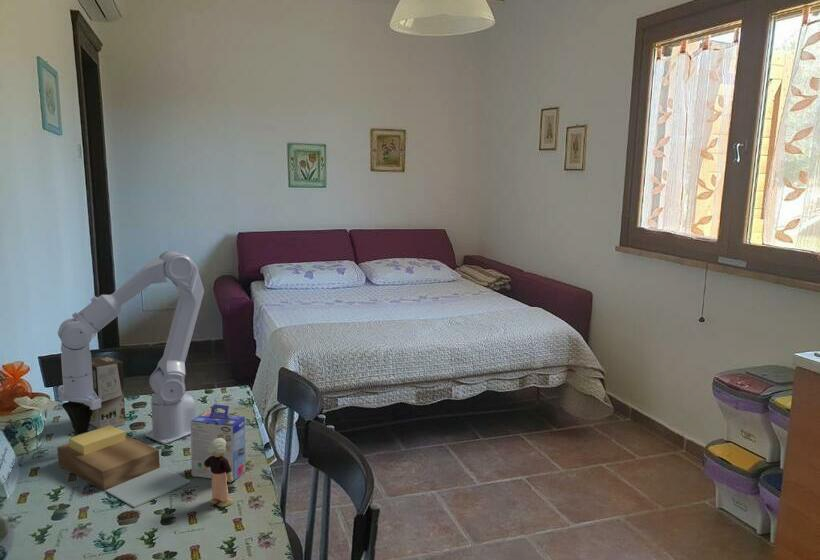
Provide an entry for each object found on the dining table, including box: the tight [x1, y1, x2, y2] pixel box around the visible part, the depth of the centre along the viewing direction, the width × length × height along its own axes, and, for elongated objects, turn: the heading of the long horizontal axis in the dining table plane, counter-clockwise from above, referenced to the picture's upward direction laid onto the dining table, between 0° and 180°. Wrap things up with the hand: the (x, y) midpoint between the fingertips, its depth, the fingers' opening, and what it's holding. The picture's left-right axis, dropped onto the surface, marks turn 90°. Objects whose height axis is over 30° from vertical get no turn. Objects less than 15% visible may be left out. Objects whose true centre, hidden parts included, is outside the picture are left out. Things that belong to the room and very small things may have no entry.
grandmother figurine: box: [203, 438, 234, 508], centre depth 113 cm, size 8×4×13 cm, turn 71°
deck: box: [56, 434, 161, 492], centre depth 127 cm, size 12×18×4 cm, turn 56°
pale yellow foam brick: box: [68, 425, 126, 455], centre depth 128 cm, size 9×6×2 cm, turn 145°
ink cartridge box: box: [190, 403, 247, 482], centre depth 124 cm, size 10×6×14 cm, turn 78°
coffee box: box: [89, 354, 127, 429], centre depth 148 cm, size 9×6×16 cm
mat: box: [105, 466, 191, 509], centre depth 119 cm, size 12×10×1 cm
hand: (81, 432), depth 132 cm, fingers closed
